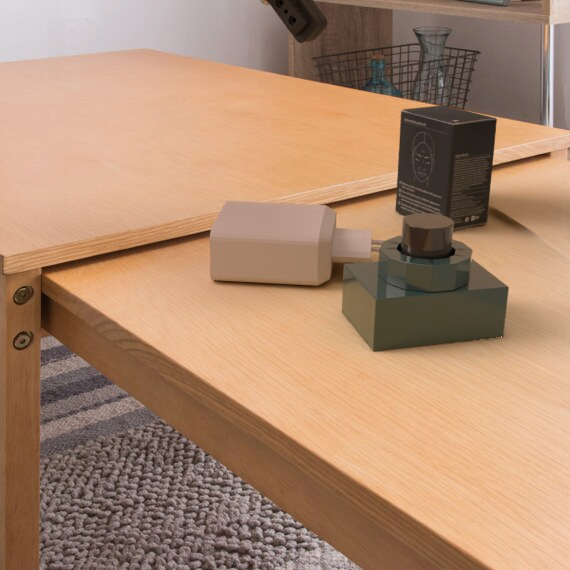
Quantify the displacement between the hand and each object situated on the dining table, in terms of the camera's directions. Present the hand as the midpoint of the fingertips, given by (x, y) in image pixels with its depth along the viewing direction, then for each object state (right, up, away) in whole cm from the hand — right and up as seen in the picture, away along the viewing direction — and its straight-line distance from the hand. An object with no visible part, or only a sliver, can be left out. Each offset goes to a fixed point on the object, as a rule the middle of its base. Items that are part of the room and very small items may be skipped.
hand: (315, 34), depth 66 cm
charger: (0, -17, +13) cm, 21 cm away
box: (+13, -11, +26) cm, 32 cm away
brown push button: (+8, -16, 0) cm, 18 cm away
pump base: (+8, -21, +2) cm, 22 cm away
